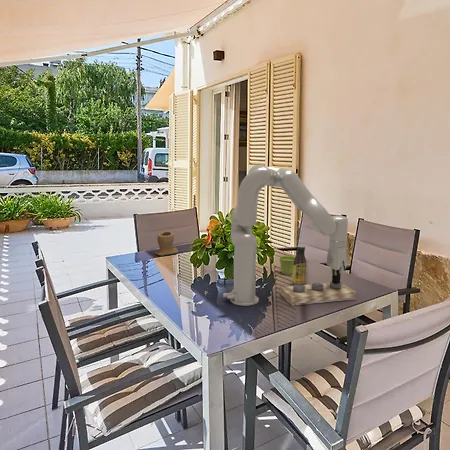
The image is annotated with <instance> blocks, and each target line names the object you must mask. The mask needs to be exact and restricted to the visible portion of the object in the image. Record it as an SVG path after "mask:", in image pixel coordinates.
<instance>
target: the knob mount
mask: <svg viewBox="0 0 450 450" xmlns="http://www.w3.org/2000/svg"><path fill="white" fill-rule="evenodd" d="M312 284H313V283H311V284H305V285H304V286H305V292H301V293H298V292H294V291H293V285H288V286H280V289H279V291H280V293H279V295H280V294H281V295H282V296H283V297H284V298H285V299H286V300H288V301H289V302H290V303H291V304H298V303H307V302H318V301H327V300H334V299H342V298H352V297H355V298H356V296H357V295H356V293H357V291H355V290H354V289H353V288H350V287H349V286H348V285H345V284H343V283H342V288H341V289H332V288H330V282H326V283H325V282H324V283H321V284H323V285H324V287H323V290H322V291H315V290H312ZM282 296H281V297H282ZM283 297H282V298H283ZM284 298H283V299H284ZM285 299H284V300H285ZM286 300H285V301H286Z"/></svg>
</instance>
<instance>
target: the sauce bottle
mask: <svg viewBox="0 0 450 450" xmlns="http://www.w3.org/2000/svg"><path fill="white" fill-rule="evenodd" d="M305 250H306V246H305V245H296V256H294V257H295V259H294V264H293V274H292V281H291V282H292V286H293V285H296V284H300V285H306V284H305V283H306V274H307V258H306V255H305V252H306V251H305Z"/></svg>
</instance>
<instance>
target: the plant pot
mask: <svg viewBox="0 0 450 450" xmlns="http://www.w3.org/2000/svg"><path fill="white" fill-rule="evenodd" d="M295 257H296V256H293V255H281V256H279V257H278V259H279V263H280V272H281V274H283V275H285V276H290V275H293V264H294V259H295Z"/></svg>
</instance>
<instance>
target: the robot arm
mask: <svg viewBox="0 0 450 450" xmlns="http://www.w3.org/2000/svg"><path fill="white" fill-rule="evenodd" d="M266 186H267V187H274V188H275V187H276V188H281V189H282V191H283V192H284V194H286V196H288V198H289V200H290V201H291V202H292V203H293V204H294V206H295V207H296V208H297V209H298V210H299V211H301V212H302V213H303V214H305V215H306V216H307V217H308V218H309V219H310V220H311V222H310V226H311V227H312V229H313V230H314V231H316V232H317V233H319V234H321V235H323V236H327V237H329V239H328V240H329V243H328V247H327V255H326V266H327V267H329V268H330V269H331V282H332V283H334V284H338V283H340V282H341V276H342V274H345V270H346V269H347V255H348V254H347V246H348V245H347V243H348V225H349V220H348V219H349V218H348V217H347V216H343V215H333V216H331V214H330V213H329V211H328V210H327V209H326V208H325V207H324V206H323V205H322V204H321V202H320V201H319V200H318V199H317V198H316V197H315V196H314V195H313V194H312V192H311V191H310V190H309V189H308V188H307V186H306V185H305V184H304V182H303V181H302V179H300V177H299V176H298V174H297V173H296V172H295V171H294V170H292V169H289V168H280V167H272V166H266V165H260V164H259V165H258V164H257V165H254V166H252V167H251V168H250V169H249V170H248V173H247V174H246V175H245V177H244V178H243V179H242V181H241V182H240V184H239V188H238V194H237V204H236V205H235V207H233V210H232V214H231V222H230V223H231V226H230V240H231V243H232V245H233V246H234V250H233V251H234V253H233V289H232V290H231V291H230V292H223V293H222V297H223V299H224V298H226V299H229V301H230V302H231V304H233V305H235V306H244V307H248V306H254V305H257V304H258V303H259V301H260V298H259V297H258V296H257V295H256V273H257V272H256V271H257V270H256V268H257V267H256V266H257V265H256V263H257V261H256V259H257V251H258V241H257V238H256V236H255V235H254V234H253V232H252V230H253V226H254V225H256V223H257V219H258V199H259V195H260V192H261V191H262V189H263V188H264V187H266Z"/></svg>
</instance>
